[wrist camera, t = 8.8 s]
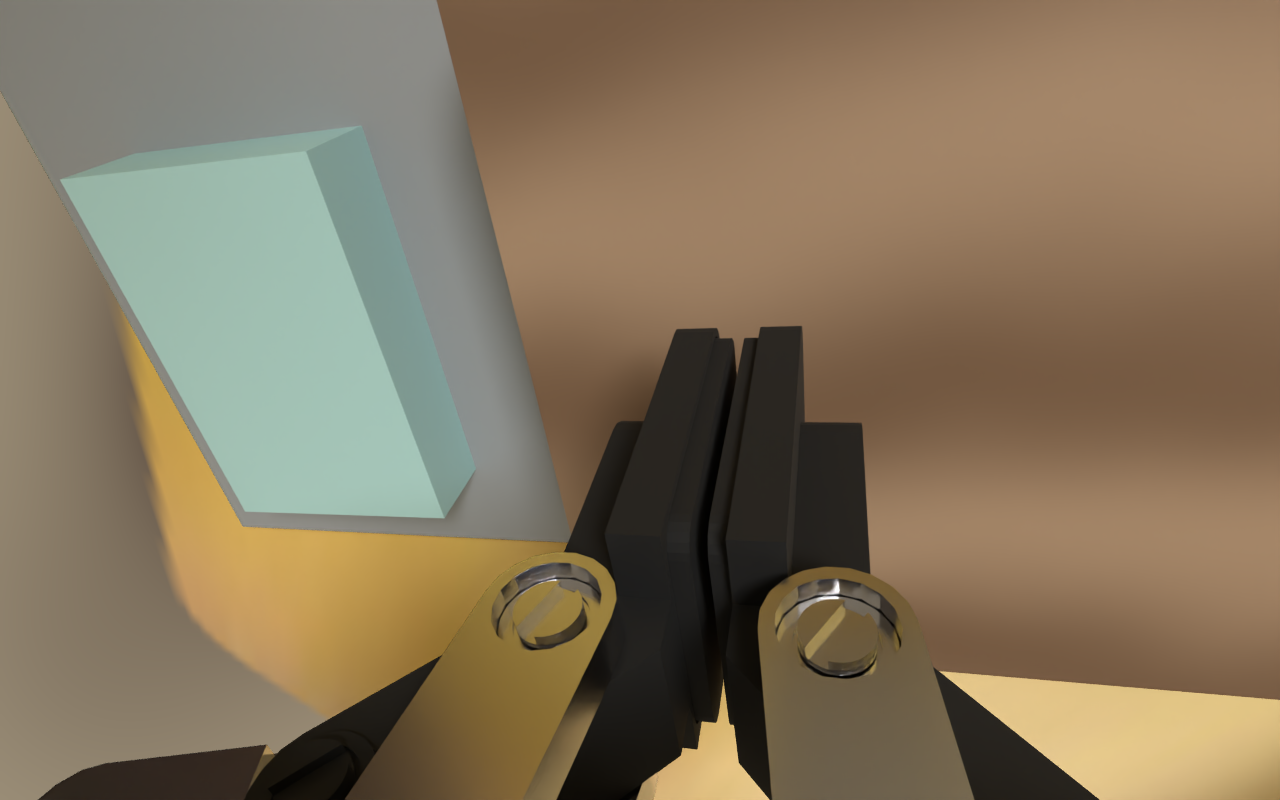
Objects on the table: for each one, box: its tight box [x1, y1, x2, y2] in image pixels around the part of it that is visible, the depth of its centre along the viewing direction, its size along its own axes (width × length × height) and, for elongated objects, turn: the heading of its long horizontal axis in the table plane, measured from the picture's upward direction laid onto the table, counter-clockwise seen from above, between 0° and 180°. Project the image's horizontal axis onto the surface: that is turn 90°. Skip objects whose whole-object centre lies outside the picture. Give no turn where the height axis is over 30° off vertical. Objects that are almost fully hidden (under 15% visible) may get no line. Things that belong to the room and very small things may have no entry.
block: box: [60, 126, 476, 518], centre depth 18 cm, size 9×6×2 cm, turn 9°
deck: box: [437, 0, 1280, 700], centre depth 13 cm, size 14×16×4 cm
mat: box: [0, 0, 571, 542], centre depth 18 cm, size 15×12×1 cm
